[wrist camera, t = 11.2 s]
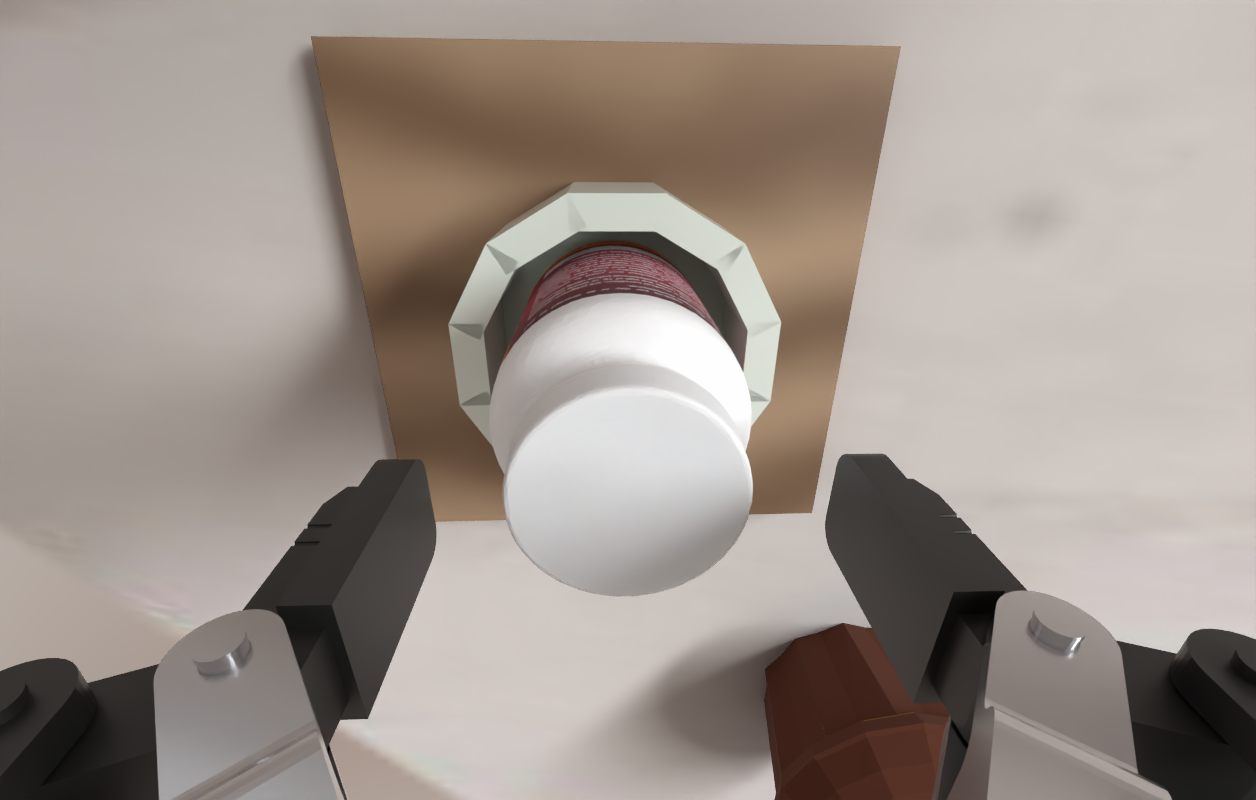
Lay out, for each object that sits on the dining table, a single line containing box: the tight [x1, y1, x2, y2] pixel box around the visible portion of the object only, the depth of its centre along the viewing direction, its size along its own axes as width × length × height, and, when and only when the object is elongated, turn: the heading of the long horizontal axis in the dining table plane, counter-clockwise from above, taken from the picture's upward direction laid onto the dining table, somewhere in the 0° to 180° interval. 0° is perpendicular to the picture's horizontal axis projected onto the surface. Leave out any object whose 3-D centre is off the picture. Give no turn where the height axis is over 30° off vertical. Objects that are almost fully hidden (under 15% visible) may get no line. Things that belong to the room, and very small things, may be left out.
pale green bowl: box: [448, 182, 781, 446], centre depth 19 cm, size 10×10×4 cm
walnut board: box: [311, 36, 901, 522], centre depth 21 cm, size 18×18×1 cm
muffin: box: [764, 623, 950, 800], centre depth 27 cm, size 12×11×10 cm
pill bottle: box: [489, 239, 753, 596], centre depth 15 cm, size 6×6×11 cm
